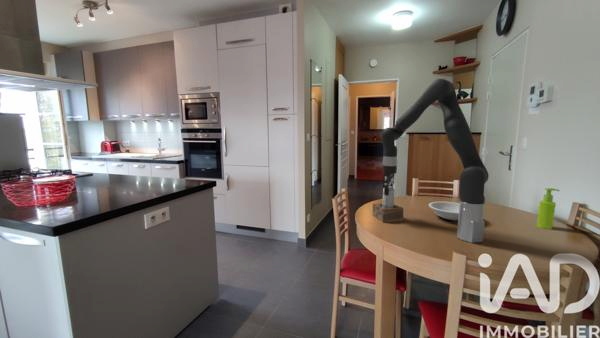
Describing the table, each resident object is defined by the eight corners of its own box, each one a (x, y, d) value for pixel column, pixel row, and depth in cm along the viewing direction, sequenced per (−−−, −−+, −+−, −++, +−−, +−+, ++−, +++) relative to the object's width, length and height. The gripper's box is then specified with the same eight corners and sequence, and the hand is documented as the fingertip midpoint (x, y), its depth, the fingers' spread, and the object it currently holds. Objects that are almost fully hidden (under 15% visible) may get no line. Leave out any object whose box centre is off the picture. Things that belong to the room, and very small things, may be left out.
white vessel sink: (463, 212, 159) (464, 201, 158) (486, 226, 135) (488, 214, 135) (421, 211, 162) (422, 200, 161) (437, 225, 138) (438, 212, 137)
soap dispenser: (557, 229, 131) (563, 190, 128) (541, 228, 132) (546, 189, 130) (549, 225, 137) (554, 187, 134) (533, 224, 138) (538, 187, 135)
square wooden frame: (403, 220, 145) (403, 208, 144) (382, 222, 142) (383, 209, 141) (391, 214, 156) (391, 202, 155) (372, 215, 154) (372, 203, 153)
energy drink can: (394, 214, 146) (396, 187, 143) (383, 214, 146) (385, 187, 144) (391, 211, 152) (392, 185, 149) (380, 211, 152) (381, 185, 150)
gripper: (393, 166, 137) (392, 197, 139) (399, 163, 149) (398, 191, 151) (378, 165, 141) (377, 195, 143) (386, 162, 153) (385, 190, 155)
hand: (388, 193), depth 147 cm, fingers open, 8 cm apart
